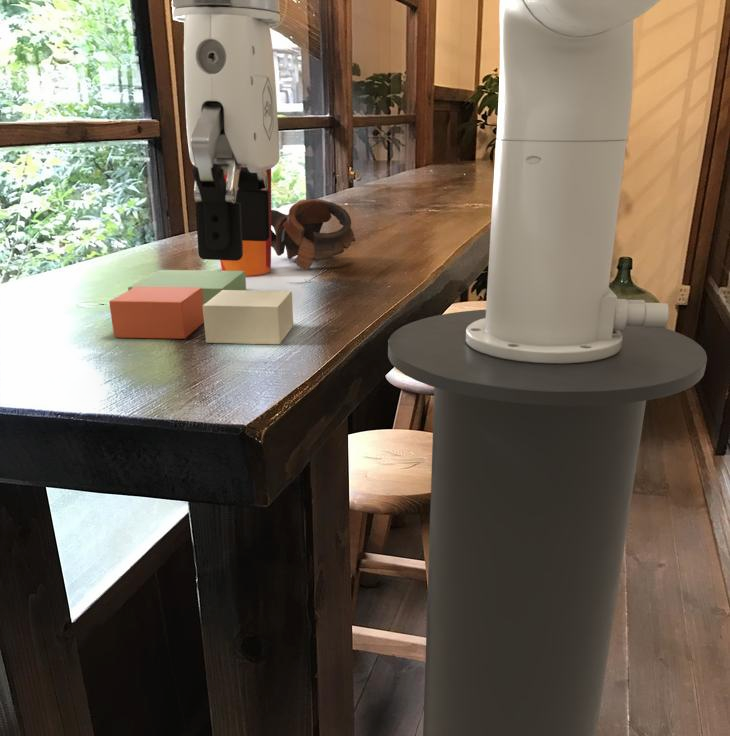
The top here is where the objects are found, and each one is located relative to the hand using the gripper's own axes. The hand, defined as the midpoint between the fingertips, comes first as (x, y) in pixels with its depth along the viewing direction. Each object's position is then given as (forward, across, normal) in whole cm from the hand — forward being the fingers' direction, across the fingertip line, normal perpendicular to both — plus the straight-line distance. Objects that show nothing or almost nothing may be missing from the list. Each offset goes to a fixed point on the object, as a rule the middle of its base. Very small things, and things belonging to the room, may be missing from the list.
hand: (236, 249), depth 64 cm
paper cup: (+7, +28, +6) cm, 30 cm away
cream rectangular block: (+7, 0, -1) cm, 7 cm away
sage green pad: (+7, +13, +8) cm, 17 cm away
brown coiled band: (+7, +34, 0) cm, 35 cm away
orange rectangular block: (+7, +1, +7) cm, 10 cm away
